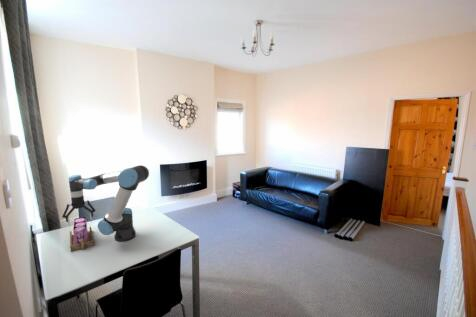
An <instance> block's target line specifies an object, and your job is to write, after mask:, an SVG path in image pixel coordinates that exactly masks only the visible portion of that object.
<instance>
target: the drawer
mask: <svg viewBox="0 0 476 317" xmlns="http://www.w3.org/2000/svg"><path fill="white" fill-rule="evenodd" d="M87 232H88V241H87V242H84V240H83V238H82V239H81V243H79V244H75V243H74V234H72V230H70V231H69V244H70V245H69V246H70V252H74V251H78V250H82V251H84V250H85V248H90V247H93V246H95V240H94V239H95V238H94V235H93V234H94V233H93V230H92V226H89V230H87Z"/></svg>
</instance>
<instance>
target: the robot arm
mask: <svg viewBox="0 0 476 317" xmlns="http://www.w3.org/2000/svg"><path fill="white" fill-rule="evenodd" d="M149 170H150V169H148V167H146V166H145V165H142V164H141V165H136V166H132V167H129V168H127V167H126V168H124V169H123V170H121V171H115V172H109V173H101V174H98V175H95V176H91V177H88V178H82V175H81V174H73V175H70V176H69V177H68V183H69V191H70V197H71V203H66V208H65V210H64V212H63V214H62V216H61V217H62V219H65V222H66V223H68V227H71V223H70V222H71V221H70V217H69V216H70V215H71V214H72V213H73V212H74V210H77V209H82V208H84V209H85V210H87V211H88V212H89V218H90V222H92V221H93V219H92V217H94V212H96V209H95V207H94V206H93V205H92V204H91V202H90V200H89V199H87V200H85V197H84V191H83V190H95V189H96V188H97V187H98V186H102V185H107V184H112V183H118V186H119V189H118V190H117V192H116V194H115V197H114V199H113V202H112V205H111V206H110V209H109V211H107V212H106V213H105V214H104V217H103V219H101V220H100V221H99V222H98V223H97V229H98V231H99V232H100V233H101V235H104V236H110V235H112V234H114V241H115V242H116V241H117V242H121V243H122V242H127V241H131V240H132V239H135V238H136V235H137V232H136V229H135V226H134V223H133V222H134V221H133V211H132V209H131V208H130V207H126V206H127V205H128V202H129V200H130V198H131V196H132V193H133V192H134V191H136V190H137V188H138V186H139V184H141V183H143V182H145V181H146V180H147V179H148V178H149V176H150V171H149ZM85 204H87V205H88V207H87V206H86V205H85ZM70 207H72V208H70ZM69 208H70V209H69ZM68 210H69V211H68Z"/></svg>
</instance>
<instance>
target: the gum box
mask: <svg viewBox="0 0 476 317" xmlns="http://www.w3.org/2000/svg"><path fill="white" fill-rule="evenodd" d="M72 228H73V229H72V230H73V235H74V243H75V244H79V243H81V239H82V238H83V240H84V242H87V241H88V232H87V231H88V223H87V216H83V217H77V218H74V221H73V227H72Z"/></svg>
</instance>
